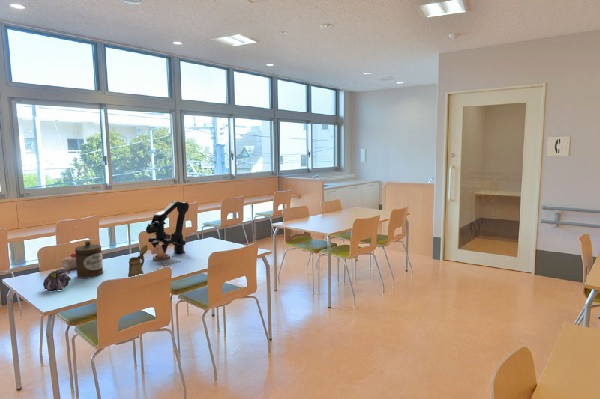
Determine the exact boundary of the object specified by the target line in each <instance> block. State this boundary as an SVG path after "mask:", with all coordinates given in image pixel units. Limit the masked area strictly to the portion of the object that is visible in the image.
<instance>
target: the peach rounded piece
mask: <svg viewBox="0 0 600 399" xmlns="http://www.w3.org/2000/svg"><path fill="white" fill-rule="evenodd" d="M162 244H163V243H159V244H157V245H156V247H155V248H154V247H153V248H150V254H151V255H153V256H155V255H156V257H157V258H164V257H166V254H167V252H166V253H164V251H163V247H162Z"/></svg>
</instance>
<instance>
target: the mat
mask: <svg viewBox="0 0 600 399" xmlns="http://www.w3.org/2000/svg"><path fill="white" fill-rule="evenodd" d="M177 262H178V263H181V262H182V260H178V259H169V260H164V261H160V262H158V263H157V265H160V266H164V267H166V266H171V265H173V264H177Z"/></svg>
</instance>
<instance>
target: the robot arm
mask: <svg viewBox="0 0 600 399" xmlns="http://www.w3.org/2000/svg"><path fill="white" fill-rule="evenodd" d="M189 207H190V205H189V203H188V202H187V201H186V202H183V201H177V200H173V201H172V202H171V203H169V204H168V205H166V207H165V208H164V209H162V210H161V211H159V212H156V213H155V214H154V215H153V217H152V219H151V222H150V223H148V224H147V226H146V228H145V232H146V233H147V234H148V235H151V234H154V235H155V236H153V237H149V238H148V239H147V240H148V243H150V244H151V245H152V246H153V248H155V247H156V245H157V244H160V243H161V244H162V247H163V251H164V253H166V254H167V249H168V246H169V245H170V244H172V246H174V247H173V250H174V252H173V254H176V255H179V254H180V255H181V254H184V253H186V251H185V247H184V246H185V245H186V241H185V239H184V235H183V228H184V222H185V217H186V216H185V215H186V214H187V212H188V210H189ZM175 209H177V210H176V211H177V214H178V215H177V219H176V225H175V231H174V232H173V233H171V234H168V233H167V232H166V231H165V225H167V223H166V222H165V221H166V219H168V218H167V217H168V215H170V214H172V212H173V211H174V210H175Z"/></svg>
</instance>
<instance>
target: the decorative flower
mask: <svg viewBox="0 0 600 399" xmlns="http://www.w3.org/2000/svg"><path fill="white" fill-rule="evenodd" d="M69 274H71V272H70V270H66V269H64V268H59V269H56V270H53V271H51V272H50V273H48V275H47V276H46V277H44V280H43V282H42V285H43V288H44V290H45V289H47V290H48V291H53V292H55V291H56V292H57V290H62V291H63V288H67V286H68V285H69V282H70V281H72V278H71V277H70V276H69ZM47 290H46V291H47ZM48 291H47V292H48Z"/></svg>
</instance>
